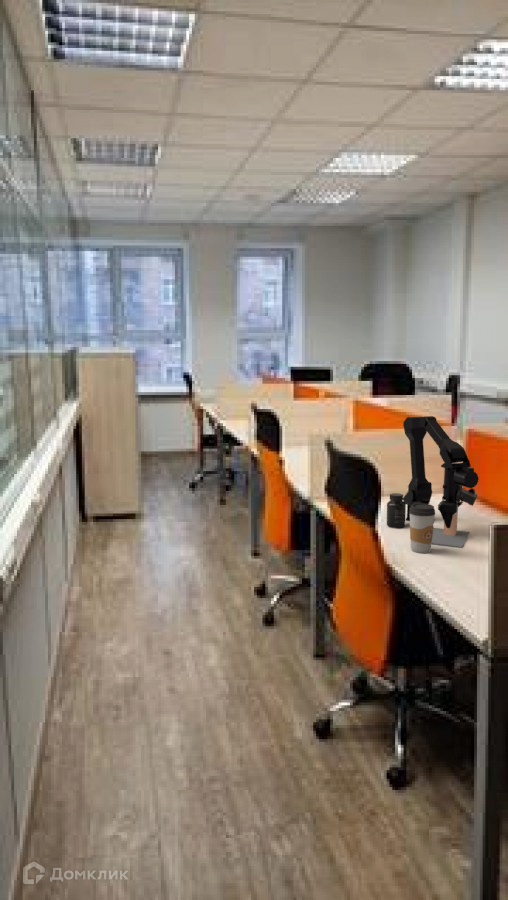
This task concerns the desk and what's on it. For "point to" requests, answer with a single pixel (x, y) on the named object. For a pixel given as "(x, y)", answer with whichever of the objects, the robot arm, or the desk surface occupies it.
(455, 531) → the block
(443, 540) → the mat
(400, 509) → the supplement bottle
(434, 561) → the desk surface
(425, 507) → the coffee cup
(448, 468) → the robot arm
